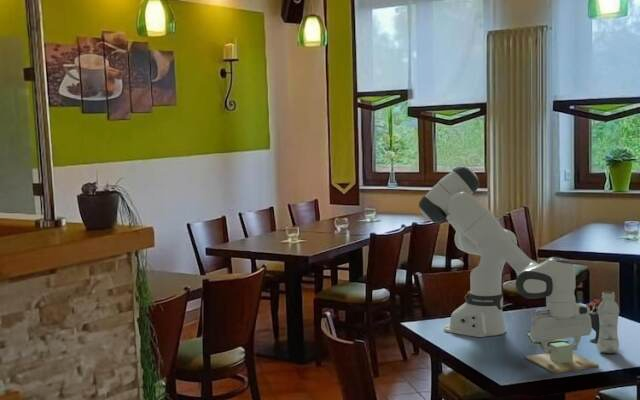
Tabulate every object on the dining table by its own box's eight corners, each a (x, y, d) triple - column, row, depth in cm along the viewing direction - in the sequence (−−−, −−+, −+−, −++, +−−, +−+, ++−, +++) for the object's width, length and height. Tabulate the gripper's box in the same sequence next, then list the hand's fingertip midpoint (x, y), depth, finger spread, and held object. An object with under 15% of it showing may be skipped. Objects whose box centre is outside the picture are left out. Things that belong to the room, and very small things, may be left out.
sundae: (609, 344, 263) (609, 301, 262) (588, 344, 265) (588, 300, 263) (606, 339, 270) (606, 296, 268) (586, 338, 271) (586, 296, 270)
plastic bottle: (597, 349, 259) (597, 290, 257) (619, 350, 256) (619, 291, 254) (596, 354, 253) (596, 294, 251) (619, 356, 250) (619, 295, 248)
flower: (613, 312, 298) (601, 295, 300) (612, 313, 290) (599, 295, 292) (591, 325, 301) (579, 308, 303) (589, 327, 292) (577, 308, 295)
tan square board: (553, 373, 236) (553, 370, 236) (525, 358, 251) (525, 356, 251) (598, 366, 240) (598, 364, 240) (568, 352, 256) (568, 350, 256)
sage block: (558, 363, 243) (558, 347, 242) (549, 358, 247) (549, 343, 247) (572, 361, 244) (572, 346, 243) (563, 357, 249) (563, 341, 248)
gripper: (537, 314, 238) (537, 358, 240) (594, 307, 244) (594, 350, 245) (526, 309, 244) (526, 352, 246) (582, 303, 250) (582, 345, 251)
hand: (561, 351), depth 245 cm, fingers open, 8 cm apart
